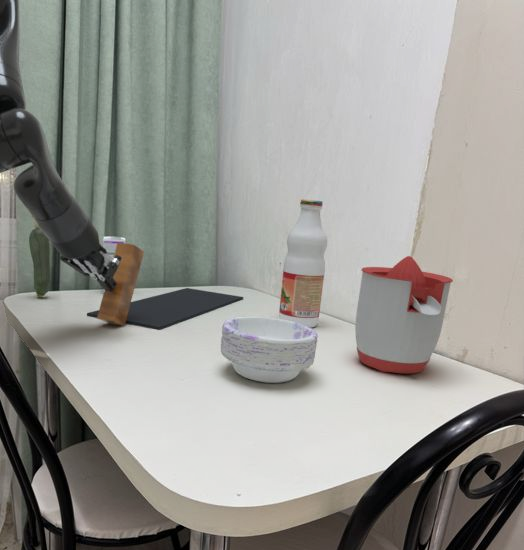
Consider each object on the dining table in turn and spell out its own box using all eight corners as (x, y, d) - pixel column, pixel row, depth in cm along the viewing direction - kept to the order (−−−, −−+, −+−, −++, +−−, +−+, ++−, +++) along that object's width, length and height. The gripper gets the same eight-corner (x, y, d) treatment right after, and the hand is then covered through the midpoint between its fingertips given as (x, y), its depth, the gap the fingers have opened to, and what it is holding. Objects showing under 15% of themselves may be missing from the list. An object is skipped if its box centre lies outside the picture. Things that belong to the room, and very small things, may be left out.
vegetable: (55, 298, 121) (52, 212, 115) (39, 300, 117) (36, 212, 112) (43, 295, 123) (40, 210, 117) (27, 297, 119) (23, 210, 114)
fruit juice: (309, 330, 113) (324, 201, 105) (271, 323, 117) (283, 197, 109) (323, 323, 121) (338, 202, 113) (287, 316, 125) (299, 199, 117)
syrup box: (126, 295, 132) (126, 239, 128) (102, 294, 131) (102, 237, 127) (125, 291, 138) (126, 237, 133) (102, 290, 136) (103, 235, 132)
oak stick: (113, 321, 99) (134, 244, 101) (96, 318, 100) (117, 242, 102) (124, 326, 103) (144, 251, 105) (108, 322, 104) (128, 249, 106)
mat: (159, 329, 102) (159, 326, 102) (86, 315, 108) (86, 313, 108) (243, 299, 142) (243, 296, 142) (186, 289, 148) (186, 287, 148)
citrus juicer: (376, 383, 82) (396, 260, 77) (335, 351, 98) (349, 248, 93) (458, 383, 87) (483, 266, 81) (406, 352, 103) (424, 253, 97)
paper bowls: (331, 381, 81) (338, 334, 79) (258, 397, 72) (263, 343, 70) (271, 354, 93) (275, 312, 90) (201, 365, 83) (203, 318, 81)
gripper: (108, 212, 85) (147, 277, 99) (46, 205, 89) (92, 268, 104) (88, 246, 81) (131, 308, 96) (24, 237, 86) (74, 297, 100)
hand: (111, 287), depth 100 cm, fingers closed
